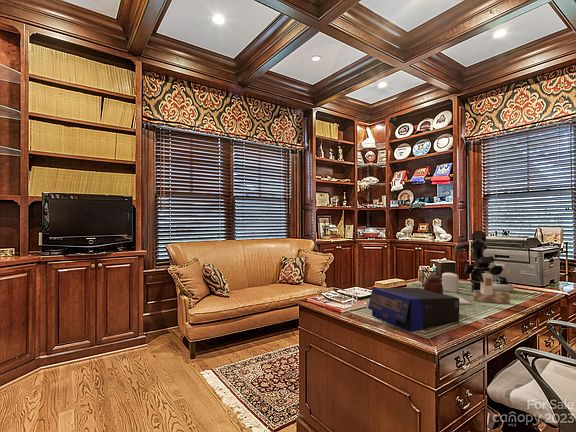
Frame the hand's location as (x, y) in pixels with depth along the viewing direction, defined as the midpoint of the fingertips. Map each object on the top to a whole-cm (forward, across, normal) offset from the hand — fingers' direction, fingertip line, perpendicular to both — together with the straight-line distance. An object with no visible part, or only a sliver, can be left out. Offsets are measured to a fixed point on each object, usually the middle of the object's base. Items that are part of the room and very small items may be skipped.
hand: (487, 282), depth 176 cm
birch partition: (+2, +6, +17) cm, 19 cm away
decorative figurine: (-21, +26, +41) cm, 53 cm away
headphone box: (+31, -46, -12) cm, 56 cm away
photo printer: (-14, -9, +34) cm, 37 cm away
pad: (+4, -14, +15) cm, 21 cm away
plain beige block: (+4, 0, +6) cm, 7 cm away
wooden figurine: (+17, -31, +2) cm, 35 cm away
